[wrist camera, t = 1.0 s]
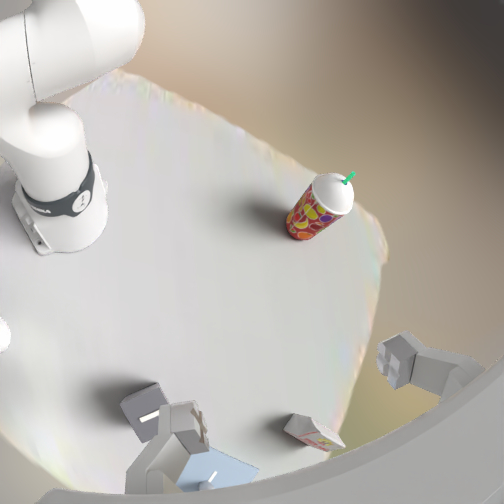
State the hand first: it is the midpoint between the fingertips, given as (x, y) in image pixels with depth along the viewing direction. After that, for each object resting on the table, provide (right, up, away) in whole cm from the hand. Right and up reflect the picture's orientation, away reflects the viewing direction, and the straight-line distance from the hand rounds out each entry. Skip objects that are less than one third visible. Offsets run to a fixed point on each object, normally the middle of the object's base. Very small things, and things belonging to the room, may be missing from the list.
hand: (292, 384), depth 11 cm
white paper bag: (+7, -26, +33) cm, 43 cm away
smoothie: (+8, +10, +49) cm, 51 cm away
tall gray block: (-17, -18, +27) cm, 37 cm away
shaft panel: (-10, -33, +24) cm, 42 cm away
